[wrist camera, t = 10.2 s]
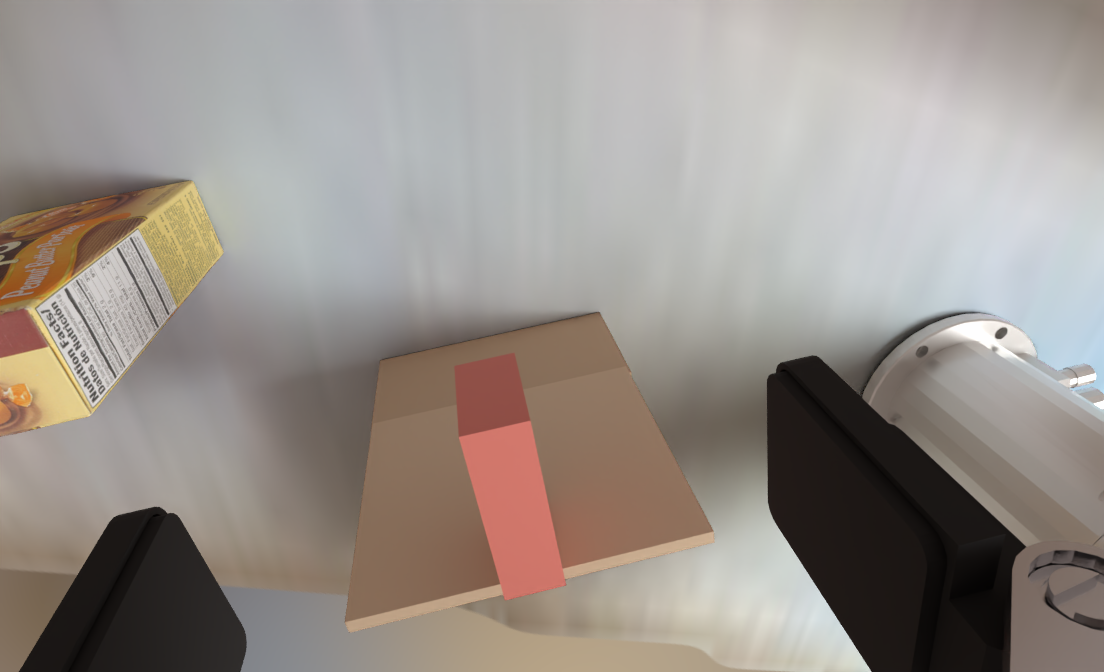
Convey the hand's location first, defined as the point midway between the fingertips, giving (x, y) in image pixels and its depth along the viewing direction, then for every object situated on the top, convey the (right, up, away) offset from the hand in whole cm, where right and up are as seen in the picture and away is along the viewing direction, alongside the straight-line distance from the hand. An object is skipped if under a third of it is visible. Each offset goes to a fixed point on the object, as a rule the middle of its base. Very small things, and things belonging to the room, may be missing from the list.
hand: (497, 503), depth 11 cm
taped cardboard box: (-1, -3, +16) cm, 17 cm away
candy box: (-20, +8, +22) cm, 31 cm away
